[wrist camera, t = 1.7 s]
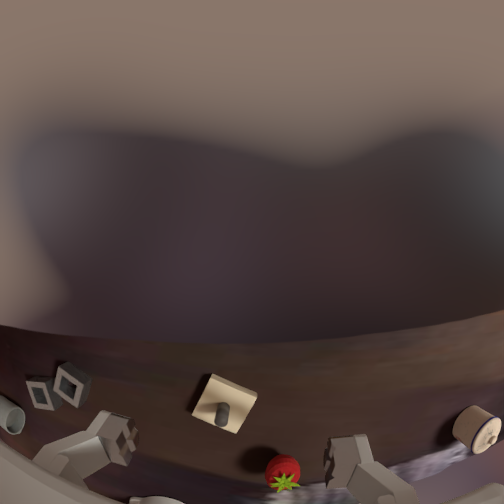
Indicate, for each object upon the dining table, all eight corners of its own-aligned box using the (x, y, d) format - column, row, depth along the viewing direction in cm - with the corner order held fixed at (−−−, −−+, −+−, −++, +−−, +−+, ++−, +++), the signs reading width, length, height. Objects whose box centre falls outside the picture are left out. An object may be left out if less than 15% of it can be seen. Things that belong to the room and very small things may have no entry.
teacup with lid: (445, 440, 44) (472, 462, 32) (460, 404, 44) (491, 424, 33) (476, 434, 44) (503, 453, 32) (490, 402, 44) (520, 417, 33)
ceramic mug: (1, 388, 44) (-18, 398, 36) (23, 402, 44) (3, 414, 36) (7, 422, 44) (-10, 433, 36) (29, 436, 43) (12, 449, 36)
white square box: (63, 404, 44) (54, 410, 41) (43, 402, 44) (34, 407, 40) (54, 377, 44) (44, 382, 41) (35, 376, 44) (25, 380, 41)
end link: (85, 401, 44) (77, 408, 41) (62, 384, 44) (53, 390, 41) (92, 378, 45) (83, 384, 41) (68, 361, 45) (58, 366, 41)
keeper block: (236, 427, 44) (234, 449, 37) (194, 409, 44) (186, 429, 37) (256, 392, 45) (257, 411, 38) (212, 373, 45) (206, 389, 38)
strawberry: (299, 442, 44) (309, 474, 34) (291, 471, 44) (298, 503, 34) (267, 440, 44) (270, 473, 34) (260, 469, 44) (262, 503, 34)
